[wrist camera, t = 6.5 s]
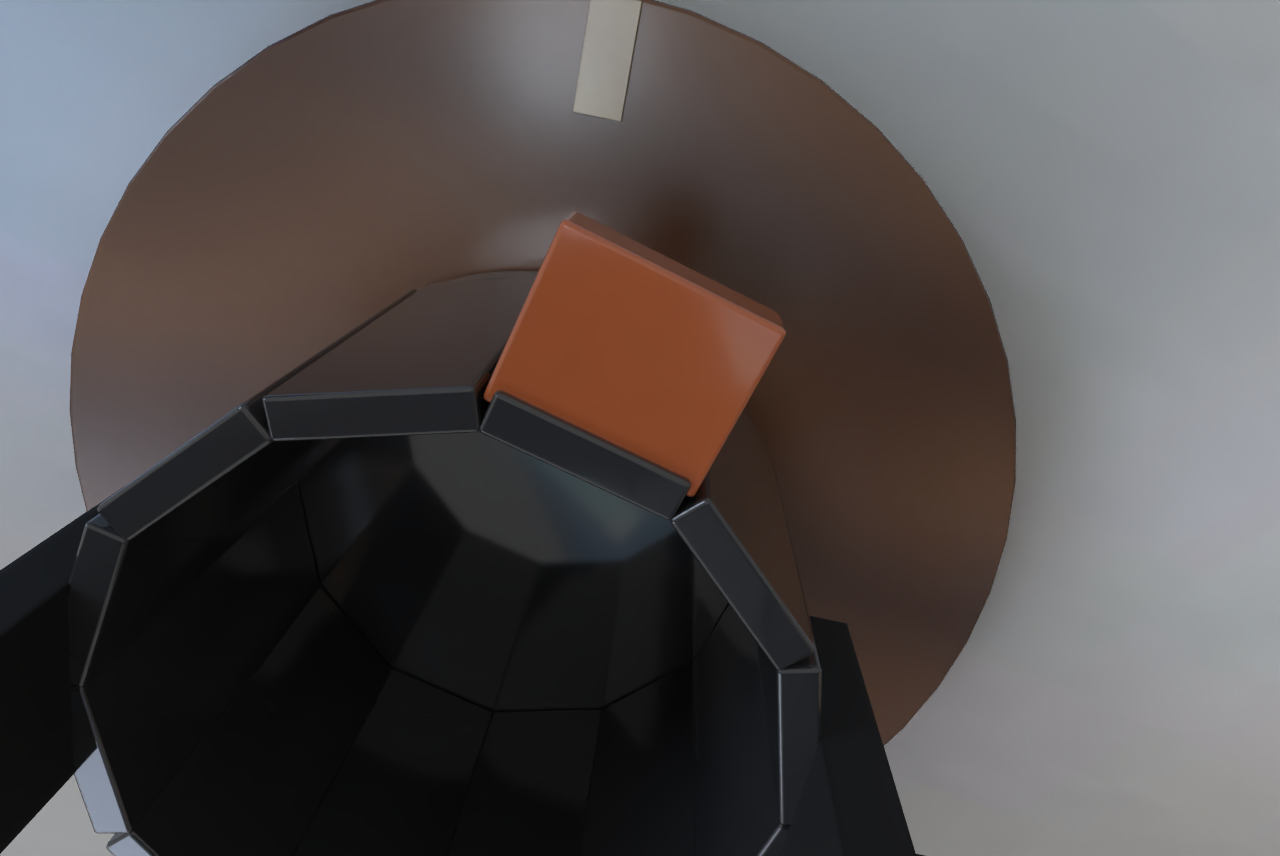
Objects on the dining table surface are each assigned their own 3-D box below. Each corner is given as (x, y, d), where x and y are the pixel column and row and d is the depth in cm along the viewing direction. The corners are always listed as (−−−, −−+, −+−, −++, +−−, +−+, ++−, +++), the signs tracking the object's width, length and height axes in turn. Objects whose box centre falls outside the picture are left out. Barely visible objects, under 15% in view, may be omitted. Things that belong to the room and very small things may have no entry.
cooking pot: (918, 322, 15) (1084, 482, 9) (604, 825, 19) (561, 1183, 13) (432, 72, 14) (218, 47, 8) (213, 660, 18) (-42, 958, 12)
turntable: (850, 874, 22) (863, 932, 20) (123, 734, 21) (80, 782, 20) (1134, 106, 15) (1183, 106, 14) (105, -108, 15) (41, -132, 13)
